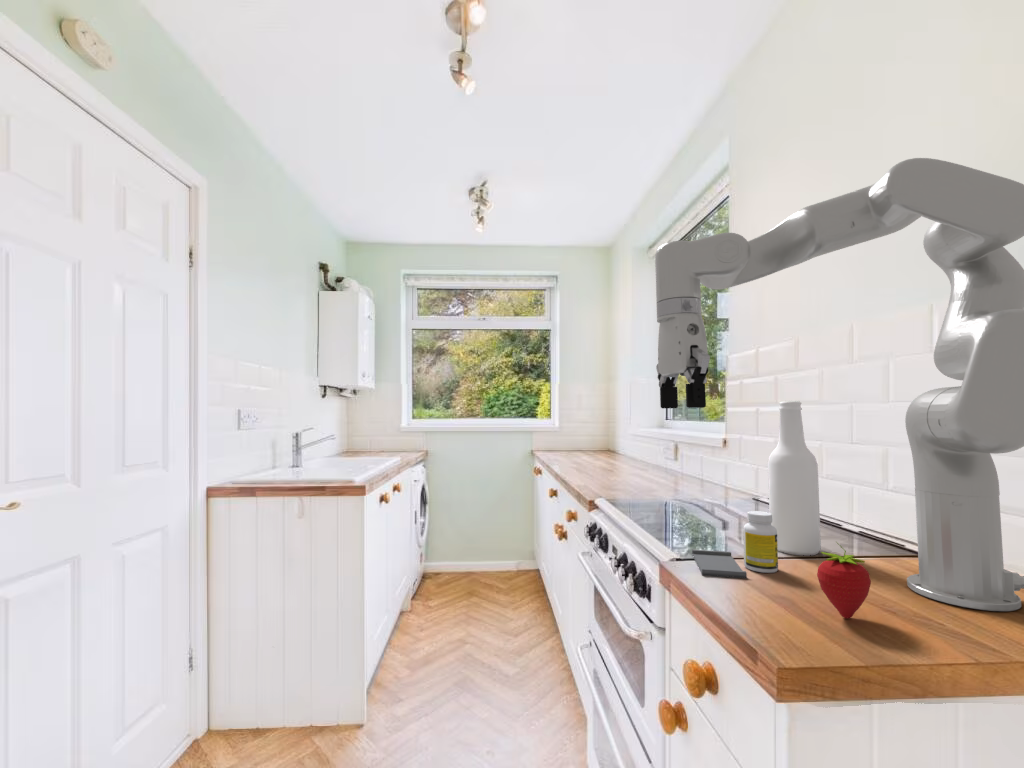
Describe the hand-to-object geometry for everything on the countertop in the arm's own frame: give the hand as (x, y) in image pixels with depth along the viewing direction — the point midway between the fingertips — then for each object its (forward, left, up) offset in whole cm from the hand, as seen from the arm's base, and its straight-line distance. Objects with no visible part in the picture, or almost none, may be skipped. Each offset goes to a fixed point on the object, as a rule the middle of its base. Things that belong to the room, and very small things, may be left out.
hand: (681, 407), depth 84 cm
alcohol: (-23, -20, -29) cm, 42 cm away
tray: (-6, -6, -29) cm, 30 cm away
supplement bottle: (-13, -6, -29) cm, 32 cm away
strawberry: (-19, +14, -29) cm, 37 cm away
